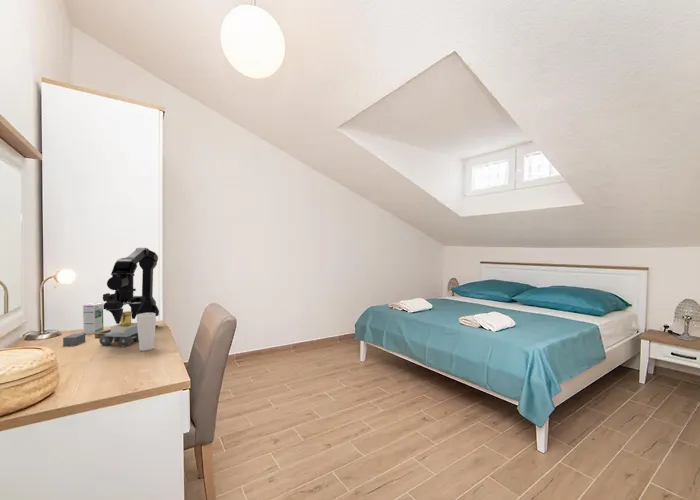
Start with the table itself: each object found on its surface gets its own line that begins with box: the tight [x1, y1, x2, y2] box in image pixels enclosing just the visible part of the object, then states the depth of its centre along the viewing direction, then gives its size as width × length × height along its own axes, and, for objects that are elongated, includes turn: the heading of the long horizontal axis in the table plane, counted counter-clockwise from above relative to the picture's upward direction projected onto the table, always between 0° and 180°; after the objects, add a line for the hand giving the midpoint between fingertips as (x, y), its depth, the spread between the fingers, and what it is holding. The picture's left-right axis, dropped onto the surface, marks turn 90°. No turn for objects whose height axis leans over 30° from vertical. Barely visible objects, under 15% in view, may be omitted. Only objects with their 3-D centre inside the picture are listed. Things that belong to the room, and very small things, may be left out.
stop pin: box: [119, 310, 132, 327], centre depth 147 cm, size 5×5×8 cm
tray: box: [110, 322, 137, 333], centre depth 147 cm, size 8×8×3 cm
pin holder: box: [94, 329, 111, 339], centre depth 156 cm, size 8×8×2 cm
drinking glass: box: [136, 313, 157, 352], centre depth 137 cm, size 7×7×15 cm
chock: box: [62, 333, 86, 347], centre depth 144 cm, size 6×5×4 cm
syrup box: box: [82, 302, 104, 335], centre depth 162 cm, size 6×6×14 cm
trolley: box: [98, 326, 139, 347], centre depth 146 cm, size 10×13×7 cm
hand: (125, 321), depth 147 cm, fingers open, 9 cm apart
